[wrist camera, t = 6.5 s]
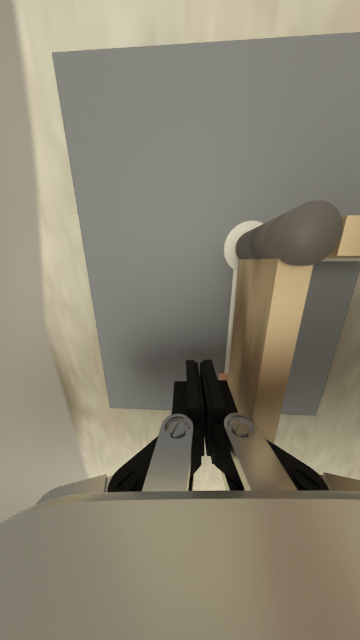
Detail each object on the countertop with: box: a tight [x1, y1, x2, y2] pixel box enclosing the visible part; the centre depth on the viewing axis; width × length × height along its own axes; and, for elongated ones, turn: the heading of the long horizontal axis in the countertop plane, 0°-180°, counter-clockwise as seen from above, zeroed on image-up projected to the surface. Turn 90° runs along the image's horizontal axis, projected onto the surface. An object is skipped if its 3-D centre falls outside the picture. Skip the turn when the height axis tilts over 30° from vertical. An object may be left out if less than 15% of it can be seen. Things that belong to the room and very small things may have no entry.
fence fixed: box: [326, 215, 360, 258], centre depth 8 cm, size 6×1×6 cm, turn 90°
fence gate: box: [228, 200, 343, 444], centre depth 9 cm, size 11×2×6 cm, turn 0°
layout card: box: [52, 32, 360, 415], centre depth 12 cm, size 18×22×1 cm
